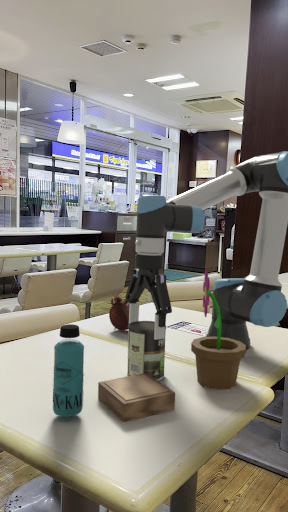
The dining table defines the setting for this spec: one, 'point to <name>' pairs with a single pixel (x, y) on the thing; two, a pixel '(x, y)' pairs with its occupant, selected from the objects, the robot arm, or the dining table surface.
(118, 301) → the alarm clock
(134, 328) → the coffee can
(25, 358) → the dining table surface
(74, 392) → the beverage bottle
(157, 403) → the walnut base
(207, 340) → the flowerpot
